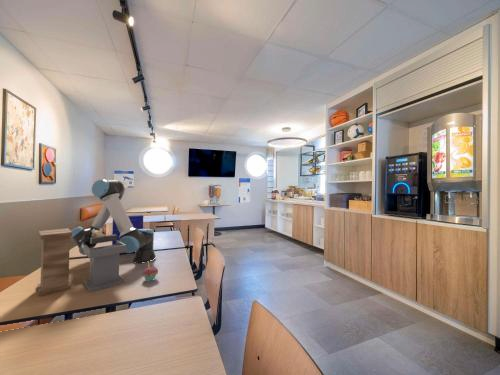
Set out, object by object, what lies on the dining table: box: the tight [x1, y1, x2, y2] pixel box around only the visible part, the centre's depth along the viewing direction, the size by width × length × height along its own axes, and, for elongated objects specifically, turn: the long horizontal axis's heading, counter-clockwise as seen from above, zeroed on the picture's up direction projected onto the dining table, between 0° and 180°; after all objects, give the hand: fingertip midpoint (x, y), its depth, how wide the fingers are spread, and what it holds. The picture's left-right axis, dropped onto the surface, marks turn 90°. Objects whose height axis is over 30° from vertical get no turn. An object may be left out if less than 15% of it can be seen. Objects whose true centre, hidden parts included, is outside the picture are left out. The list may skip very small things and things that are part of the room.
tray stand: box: [83, 240, 126, 293], centre depth 121 cm, size 15×17×22 cm
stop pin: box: [90, 230, 117, 245], centre depth 127 cm, size 24×12×3 cm, turn 47°
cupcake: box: [141, 262, 159, 282], centre depth 127 cm, size 9×8×12 cm
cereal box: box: [111, 214, 144, 255], centre depth 178 cm, size 22×6×30 cm, turn 122°
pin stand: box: [36, 227, 72, 297], centre depth 114 cm, size 14×12×30 cm
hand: (97, 230), depth 130 cm, fingers closed on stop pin, 3 cm apart
